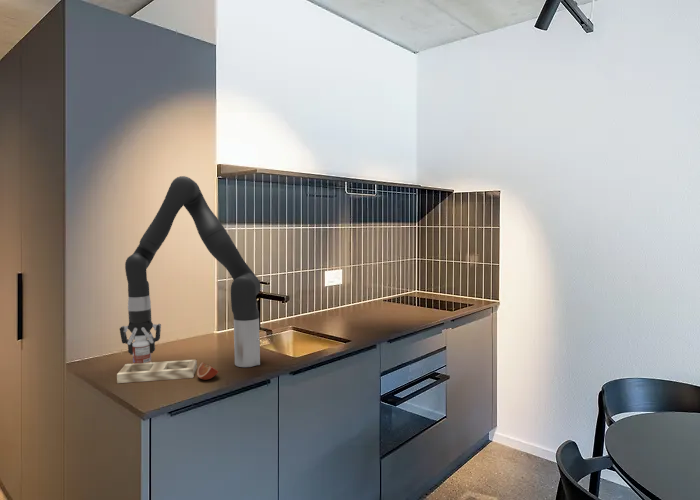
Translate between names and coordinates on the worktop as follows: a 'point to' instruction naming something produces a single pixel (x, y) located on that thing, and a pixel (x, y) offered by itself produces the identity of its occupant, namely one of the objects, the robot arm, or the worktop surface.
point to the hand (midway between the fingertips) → (141, 353)
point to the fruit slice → (206, 371)
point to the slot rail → (157, 371)
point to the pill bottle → (141, 350)
